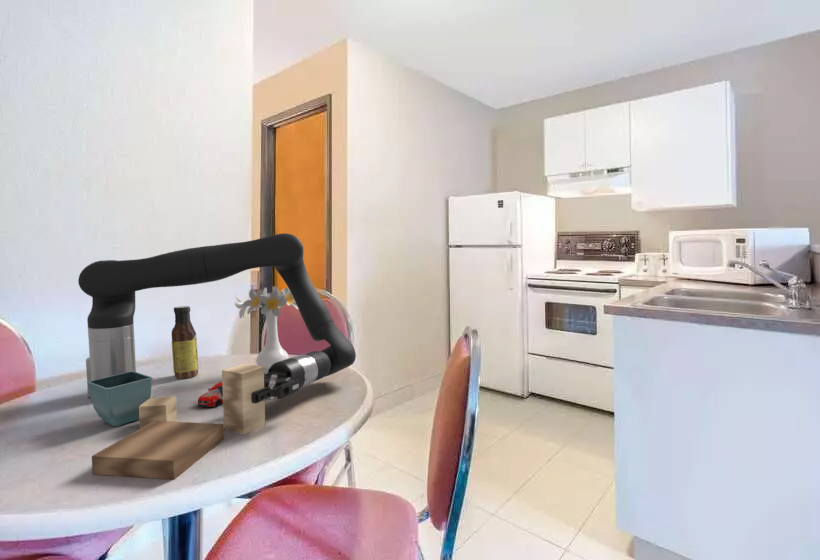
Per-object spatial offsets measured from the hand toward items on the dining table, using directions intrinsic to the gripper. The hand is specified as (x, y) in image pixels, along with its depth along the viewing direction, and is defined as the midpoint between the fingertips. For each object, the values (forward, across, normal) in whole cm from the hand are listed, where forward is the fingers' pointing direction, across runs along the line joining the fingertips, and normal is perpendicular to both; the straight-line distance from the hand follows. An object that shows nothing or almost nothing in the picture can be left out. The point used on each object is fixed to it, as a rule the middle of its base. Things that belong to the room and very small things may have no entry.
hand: (237, 395), depth 84 cm
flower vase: (-33, -24, +7) cm, 42 cm away
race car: (-11, -18, +8) cm, 22 cm away
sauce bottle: (-19, -42, +7) cm, 47 cm away
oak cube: (+5, -17, +7) cm, 19 cm away
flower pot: (+8, -25, +7) cm, 27 cm away
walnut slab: (+13, -3, +7) cm, 15 cm away
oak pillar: (-2, 0, +7) cm, 7 cm away
